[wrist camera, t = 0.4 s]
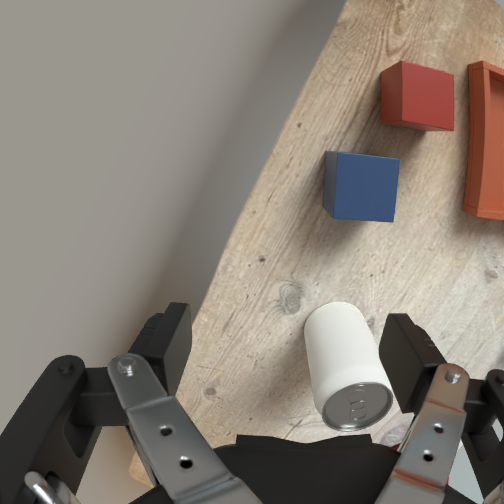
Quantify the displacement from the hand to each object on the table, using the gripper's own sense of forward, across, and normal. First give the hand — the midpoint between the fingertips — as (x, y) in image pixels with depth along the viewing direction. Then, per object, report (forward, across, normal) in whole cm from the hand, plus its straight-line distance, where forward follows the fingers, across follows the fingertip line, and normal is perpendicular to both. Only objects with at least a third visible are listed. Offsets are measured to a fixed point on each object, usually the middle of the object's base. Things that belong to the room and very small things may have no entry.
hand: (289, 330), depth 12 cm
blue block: (+18, -6, -4) cm, 19 cm away
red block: (+18, -11, -12) cm, 24 cm away
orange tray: (+18, -25, -11) cm, 33 cm away
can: (+18, -7, +11) cm, 22 cm away
